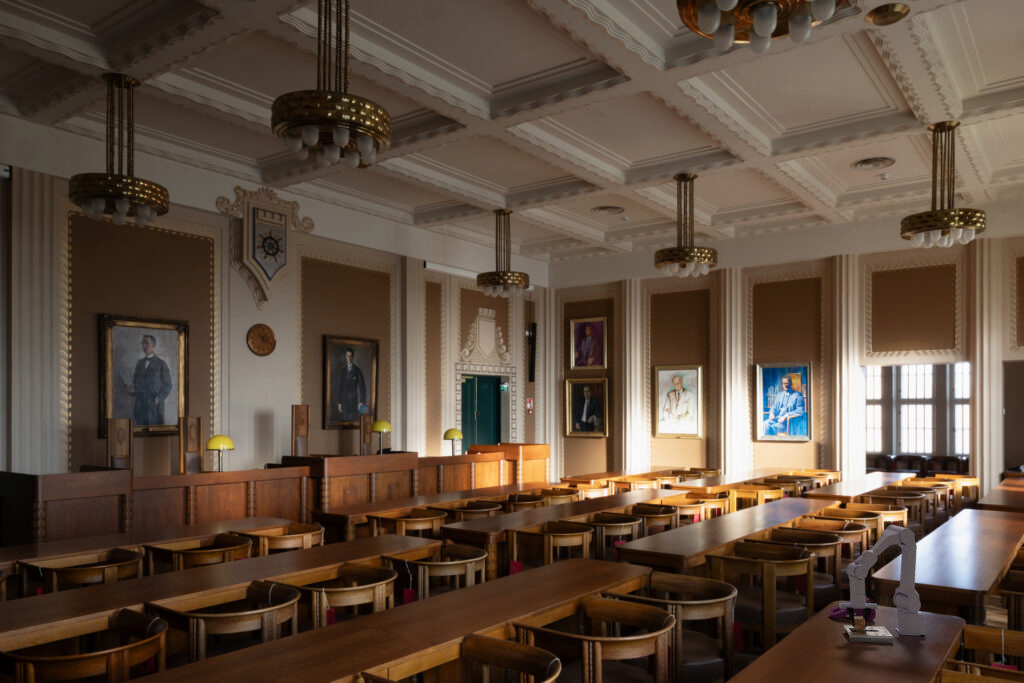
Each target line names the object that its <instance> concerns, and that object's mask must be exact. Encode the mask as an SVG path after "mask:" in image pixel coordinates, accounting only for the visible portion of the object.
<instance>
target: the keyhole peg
mask: <svg viewBox="0 0 1024 683" xmlns="http://www.w3.org/2000/svg"><path fill="white" fill-rule="evenodd" d="M854 622H855V627H854V628H855V629H857V632H860V633H862V629H866V628H865V619H864V618H863V617H861V616H857V615H854Z"/></svg>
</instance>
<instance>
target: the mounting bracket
mask: <svg viewBox="0 0 1024 683" xmlns="http://www.w3.org/2000/svg"><path fill="white" fill-rule="evenodd" d="M865 599H866V603H872V602H871V600H870V598H869V597H868V596H866V595H865ZM846 602H851V599H849V600H847V601H846ZM853 610H854V615H855V616H861V617H863V609H853ZM871 611H872V613H871V615H870V617H869V619H868V622H872V621H874V619H876V614H877V610H875V609H871ZM828 614H829V616H830V618H831V617H832V618H831V619H833V618H834V620H837V619H841V618H844V617H846V616H849V614H848V612H847V610H846V608H843V609H840V607H839V604H838V605H836V606H834V607H832V608H831V609H830V610H829V611H828Z"/></svg>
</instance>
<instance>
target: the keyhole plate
mask: <svg viewBox="0 0 1024 683" xmlns="http://www.w3.org/2000/svg"><path fill="white" fill-rule="evenodd" d="M865 628H866V629H862V633H860V632H857V629H855V628H854V627H853V626H852V625H845V624H844V625H843V633H844V634H845V633H848V634H847V635H849V642H850V641H851V642H850V643H861V642H876V643H875V644H889V643H893V644H894V636H893V635H892V633H890V631H889V630H888V629H887V628H886V627H885V626H875V625H874V626H871V625H869V626H868V625H867V627H865ZM878 642H879V643H878Z"/></svg>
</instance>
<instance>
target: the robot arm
mask: <svg viewBox="0 0 1024 683" xmlns="http://www.w3.org/2000/svg"><path fill="white" fill-rule="evenodd" d="M915 535H916V534H915V533H914V532H913V531H912V530H911V529H910V528H908V527H902V526H900V525H899V526H898V525H895V524H890V525H888V526H887V527H886V529H884V530H883V534H882V535H881V537H879V539H878V540H877V542H876V543H875V544H874V545H873V546H872V547H871V548H870V549H869V550H868V549H865V550H863V551H862V552H861V555H860V556H858V558H857V559H855V560H854V562H851V563H848V565H847V567H846V569H845V572H846V574H847V575H848V579H849V593H850V595H849V596H850V599H849V600H851V602H847V601H845V602H839V603H838V605H839V607H840V609H843V608H846V610H847V612H848V614H849V615H848V616H849V619H850V623H851V626H853V627H855V622H854V616H855V613H854V610H853V609H863V618H864V619H865V627H867V626H868V622H869V621H868V619H869V617H870V615H871V613H872V611H871V609H875V611H877V610H879V609H878V608H879V606H878V604H877V603H872V602H871V603H866V599H865V596H866V583H865V581H866V580H865V579H866V578H867V577H868V574H869V570H870V568H872V567H873V566H874V565H875V564H876V562H878V557H879V555H880V554H882V553H883V552H884V551H885V550H886V549H887V548H889V547H890V546H891V545H898V546H899V547H900V548H901V560H900V562H901V563H900V577H899V586H897V588H895V593H894V595H893V598H892V601H893V605H894V606H896V609H897V621H898V627H895V630H896V631H897V632H898V634H900V635H902V636H920V635H925V636H926V633H925V617H924V613H923V612H922V611H920V609H921V606H922V605H921V601H920V594H919V593H918V591H917V590H916V589H915V588H916V587H915V586H916V566H917V542H916V540H915V537H916V536H915Z"/></svg>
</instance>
